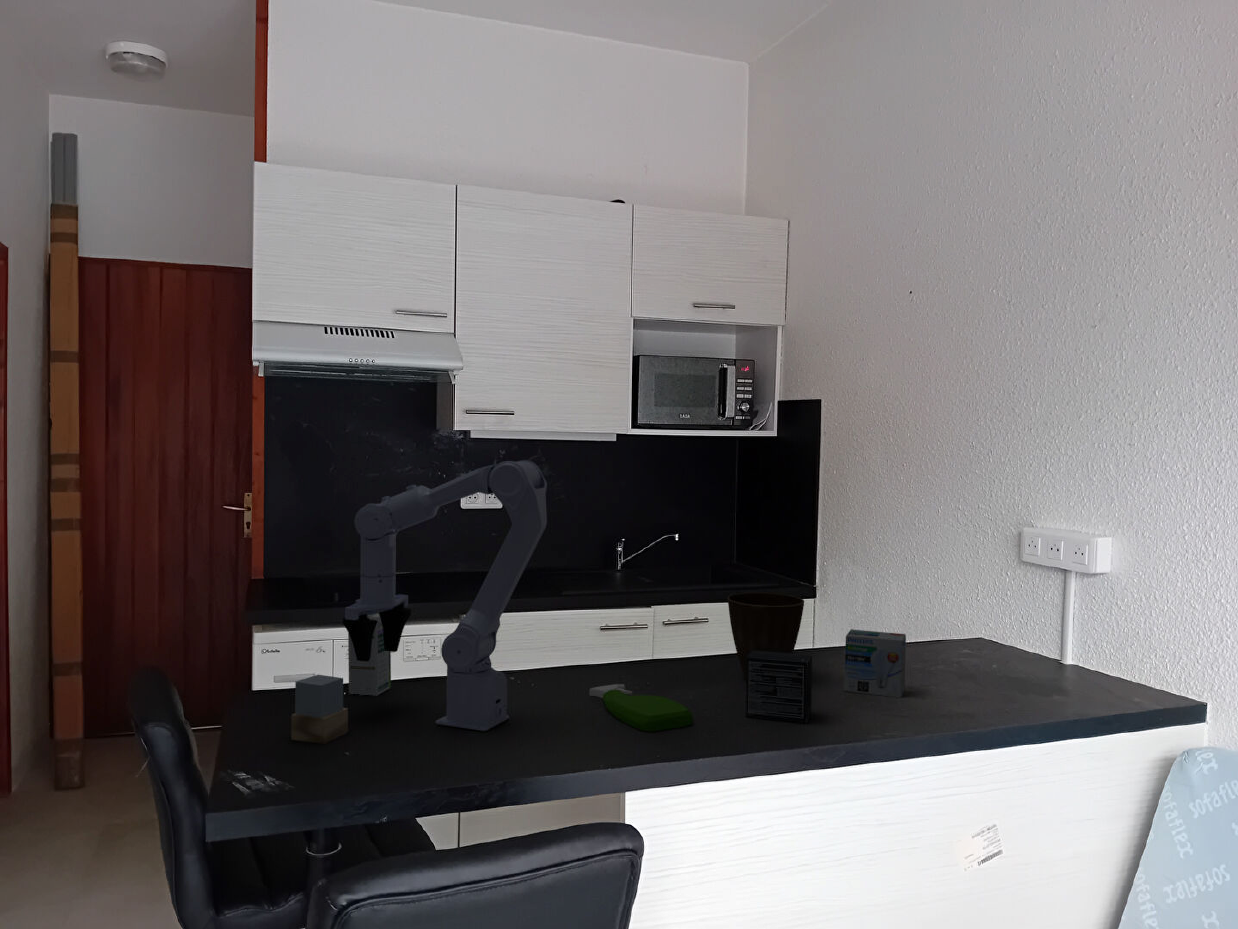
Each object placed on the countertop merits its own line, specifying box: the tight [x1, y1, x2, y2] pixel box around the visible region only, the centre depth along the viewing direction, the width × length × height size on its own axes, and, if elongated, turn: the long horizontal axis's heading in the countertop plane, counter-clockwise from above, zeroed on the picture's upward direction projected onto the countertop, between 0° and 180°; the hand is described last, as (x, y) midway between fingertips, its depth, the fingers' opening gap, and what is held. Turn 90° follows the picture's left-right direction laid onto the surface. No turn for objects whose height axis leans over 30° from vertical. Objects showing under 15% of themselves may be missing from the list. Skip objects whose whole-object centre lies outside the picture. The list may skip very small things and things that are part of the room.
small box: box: [745, 651, 813, 725], centre depth 158 cm, size 11×6×10 cm, turn 71°
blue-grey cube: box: [294, 674, 344, 718], centre depth 143 cm, size 5×5×5 cm
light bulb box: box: [843, 628, 907, 699], centre depth 175 cm, size 11×7×11 cm, turn 68°
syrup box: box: [347, 613, 392, 697], centre depth 169 cm, size 6×6×14 cm
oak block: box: [290, 707, 349, 745], centre depth 144 cm, size 6×6×4 cm
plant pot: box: [727, 592, 805, 680], centre depth 182 cm, size 15×15×16 cm
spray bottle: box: [589, 683, 694, 733], centre depth 160 cm, size 3×11×24 cm
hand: (377, 655), depth 155 cm, fingers open, 7 cm apart
